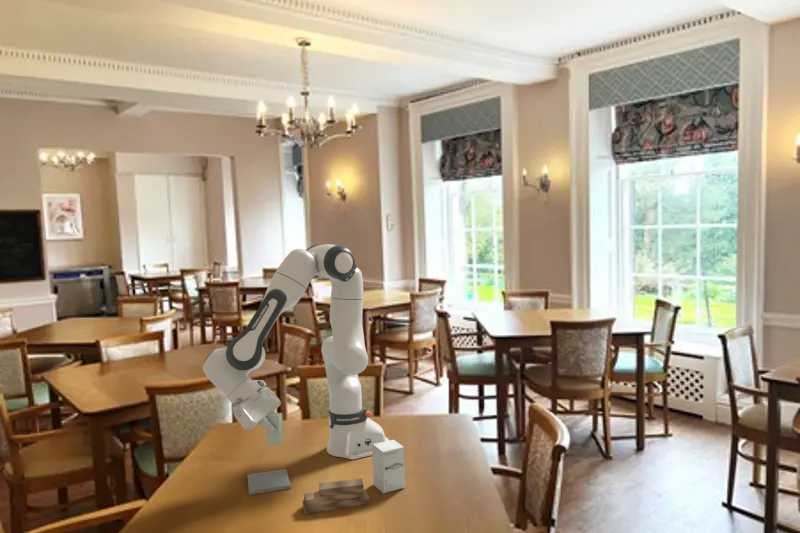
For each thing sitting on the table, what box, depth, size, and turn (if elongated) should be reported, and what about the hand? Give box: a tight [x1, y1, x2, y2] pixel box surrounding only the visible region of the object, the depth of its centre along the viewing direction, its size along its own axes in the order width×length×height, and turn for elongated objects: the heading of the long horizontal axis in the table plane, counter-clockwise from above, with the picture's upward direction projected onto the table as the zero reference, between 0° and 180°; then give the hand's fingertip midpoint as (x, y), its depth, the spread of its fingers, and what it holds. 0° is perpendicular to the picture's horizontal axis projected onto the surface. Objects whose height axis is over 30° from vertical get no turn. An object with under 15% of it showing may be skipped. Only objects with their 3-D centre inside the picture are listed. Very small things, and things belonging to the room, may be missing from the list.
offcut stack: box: [302, 478, 371, 515], centre depth 162 cm, size 18×6×6 cm, turn 107°
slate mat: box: [246, 468, 291, 496], centre depth 178 cm, size 12×12×1 cm
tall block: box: [266, 412, 284, 446], centre depth 175 cm, size 2×4×9 cm, turn 79°
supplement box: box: [371, 439, 406, 494], centre depth 173 cm, size 7×7×13 cm
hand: (276, 428), depth 175 cm, fingers closed on tall block, 2 cm apart
